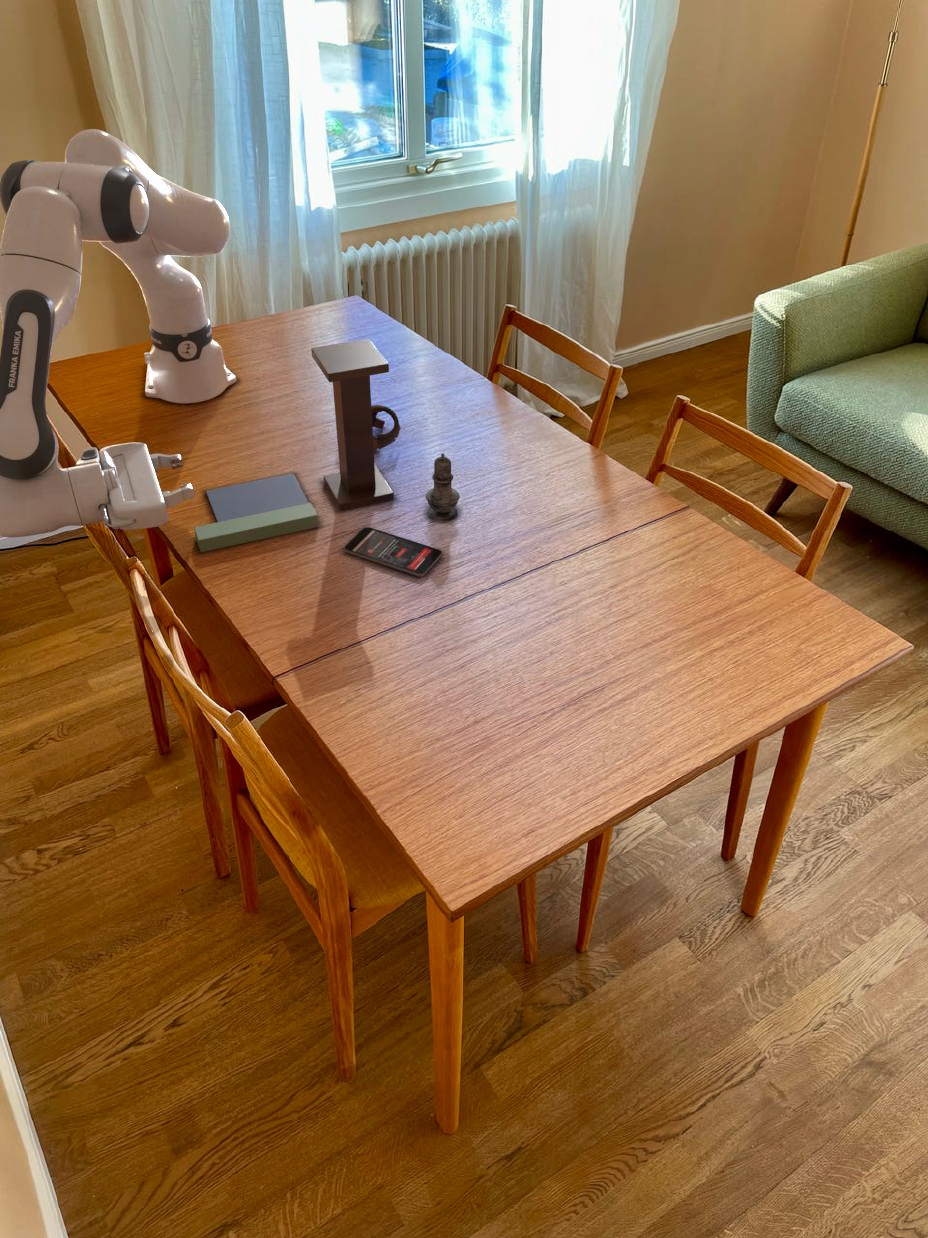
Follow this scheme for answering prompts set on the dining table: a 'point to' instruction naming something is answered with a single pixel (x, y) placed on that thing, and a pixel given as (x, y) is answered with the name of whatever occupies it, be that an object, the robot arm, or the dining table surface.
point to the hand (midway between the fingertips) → (187, 475)
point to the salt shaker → (442, 492)
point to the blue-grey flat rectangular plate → (256, 497)
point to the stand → (354, 422)
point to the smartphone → (393, 551)
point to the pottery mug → (386, 438)
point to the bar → (256, 527)
